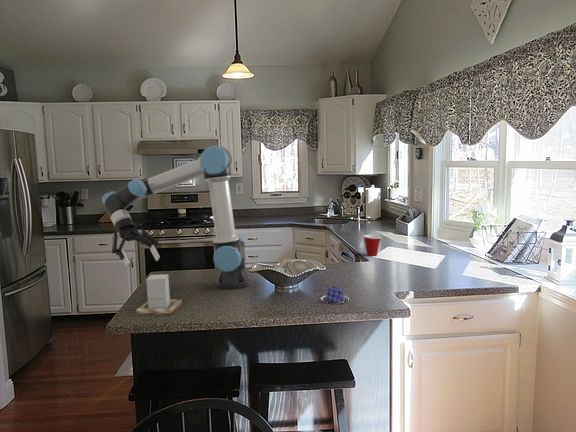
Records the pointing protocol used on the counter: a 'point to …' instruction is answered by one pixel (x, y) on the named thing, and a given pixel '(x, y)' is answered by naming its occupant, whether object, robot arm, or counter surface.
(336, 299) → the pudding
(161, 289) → the supplement box
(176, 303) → the square wooden tray
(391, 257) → the counter surface
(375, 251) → the plastic cup
